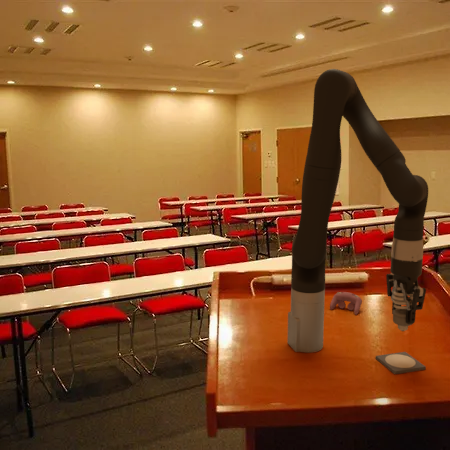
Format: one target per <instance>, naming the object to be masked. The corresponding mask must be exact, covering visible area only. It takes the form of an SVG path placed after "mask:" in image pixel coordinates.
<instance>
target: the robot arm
mask: <svg viewBox="0 0 450 450" xmlns="http://www.w3.org/2000/svg"><path fill="white" fill-rule="evenodd" d="M313 91H314V92H313V106H312V107H313V108H312V122H311V123H312V124H311V130H310V134H309V139H308V145H307V153H306V157H305V162H304V167H303V173H302V184H301V202H300V203H301V205H300V208H301V210H300V218H299V223H298V227H297V231H296V234H295V236H294V237H293V240H292V244H291V273H290V274H291V275H290V278H291V279H290V284H291V285H290V287H291V288H290V289H291V291H290V311H288V312H287V344H288V345H289V346H290V347H291V349H292V350H293V351H294V352H296V353H297V352H301V353H316V352H319V351H321V350H322V349H323V348H324V347H323V346H324V329H325V328H324V326H325V325H324V323H325V299H326V297H325V295H326V259H327V250H328V249H327V241H328V228H329V220H330V216H331V213H332V208H333V205H334V201H335V197H336V194H337V189H338V184H339V179H340V173H341V168H342V144H341V143H342V141H341V125H342V120H343V118H344V119H345V120H346V121H347V123H348V124H349V126H350V127H351V129H352V130H353V132H354V133H355V135H356V137H357V140H358V142H359V145H360V146H361V148H362V149H363V152H364V153H365V156H367V158H368V159H369V161H370V162H371V163H372V165H373V166H374V167H375V169H376V171H378V173H379V174H380V175H381V177H382V179H383V182H384V184H385V185H386V188H387V190H388V191H389V193H390V195H391V196H392V198H393V199H394V200H395V201H396V202H397V204H398V212H397V214H396V215H395V218H394V222H393V237H392V238H393V239H392V243H391V253H390V273H387V274H385V277H386V279H385V280H386V293H387V296H388V297H389V298H390V300H391V301H392V302H391V303H392V304H391V305H392V306H391V314H392V315H393V311H394V310H395V309H396V308H395V307H394V304H395V303H393V300H394V298H393V296H394V292H395V291H396V292H397V291H398V293H403V300H404V301H405V302H406V305H405V306H406V307H407V309H406V323H407V324H412V325H414V323H415V322H416V314H417V311H418V310H419V311H421V310H423V307H424V303H425V298H426V293H427V289H426V288H425V287H421V286H420V285H419V281H418V278H419V277H420V276H421V275H422V273H423V272H422V271H423V260H424V258H423V257H424V231H425V230H424V229H425V227H424V226H425V223H424V221H425V220H424V219H425V215H426V210H427V205H428V201H429V200H428V198H429V185H428V182H427V181H426V179H424V178H425V177H424V178H423V177H422V176H420V175H418V174H417V175H416V174H413V173H412V171H411V169H410V168H409V167H408V165H407V164H406V162H407V161H406V157H405V156H404V154H403V152H402V151H401V150H400V147H398V146H397V143H395V142H394V140H393V139H392V137H391V136H390V135H389V134H388V132H387V131H386V130H385V128H384V127H383V126H382V124H381V123H380V122H379V120H378V119H377V117H376V116H375V115H374V113H373V112H372V110H371V108H370V107H369V106H368V104H367V101H366V100H365V97H364V96H363V94H362V92H361V90H360V87H359V86H358V84H357V82H356V80H355V78H354V77H353V76H352V75H351V73H348V72H346V71H344V70H340V69H336V68H330V69H327V70H325V71H323V72H322V73H321V74H320V75H319V76H318V78H317V80H316V82H315V84H314V89H313ZM398 287H399V288H401V290H397V288H398ZM407 294H408V295H409V294H413V297H410V296H407ZM410 300H412V305H410ZM396 305H397V306H402V305H398V304H396Z"/></svg>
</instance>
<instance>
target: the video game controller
mask: <svg viewBox="0 0 450 450" xmlns="http://www.w3.org/2000/svg"><path fill="white" fill-rule="evenodd" d="M346 302H349V303H348V304H347V306H346ZM362 303H363V300H362V298H361V297H360V296H359V295H357V294H355V293H352V292H347V291H340V292H339V291H337V292H336V293H335V294H334V295H333V297H332V298H331V301H330V304H329V309H330V310H331V311H333V310H335V308H336V306H338V308H340V309H345V308H346V307H347V309H348V310H349V311H351V312H352V311H353V313H354V315H358V314H359V312H360V310H361V306H362ZM332 309H333V310H332Z"/></svg>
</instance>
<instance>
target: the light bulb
mask: <svg viewBox="0 0 450 450" xmlns="http://www.w3.org/2000/svg"><path fill="white" fill-rule="evenodd" d="M397 290H401V288H399V287H398V288H397ZM407 296H408V297H413V294H409V295H408V294H407ZM393 298H394V300H393V301H392V302H393V303H395V304H394V307H395V308H396V309H395V310H394V311H393V314H392V321H393V323H394V324H395V325H397V329H398V330H400V331H401V332H405V331H407V330H408V329H409V327H410V326H412V325H413V324H407V323H406V309H407V307H406V302H405V301H404V300H403V293H398V291H397V292H396V291H395V292H394V296H393ZM396 304H398V305H401V306H397V305H396ZM410 305H412V300H410Z"/></svg>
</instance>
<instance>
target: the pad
mask: <svg viewBox="0 0 450 450" xmlns="http://www.w3.org/2000/svg"><path fill="white" fill-rule="evenodd" d="M375 360H377V361H378V362H379V363H380V364H381V365H382V366H384V367H385V368H386V369H387V370H389V372H391V373H392V374H394V375H399V374H406V373H412V372H418V371H425V370H426V367H427V366H426V365H424V364H423V363H421V362H420V361H419V360H418V359H416V358H415V357H413V356H412V355H410V354H409V353H408V352H407V351H400V352H395V353H387V354H386V353H385V354H380V355H379V354H378V355H375Z"/></svg>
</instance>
